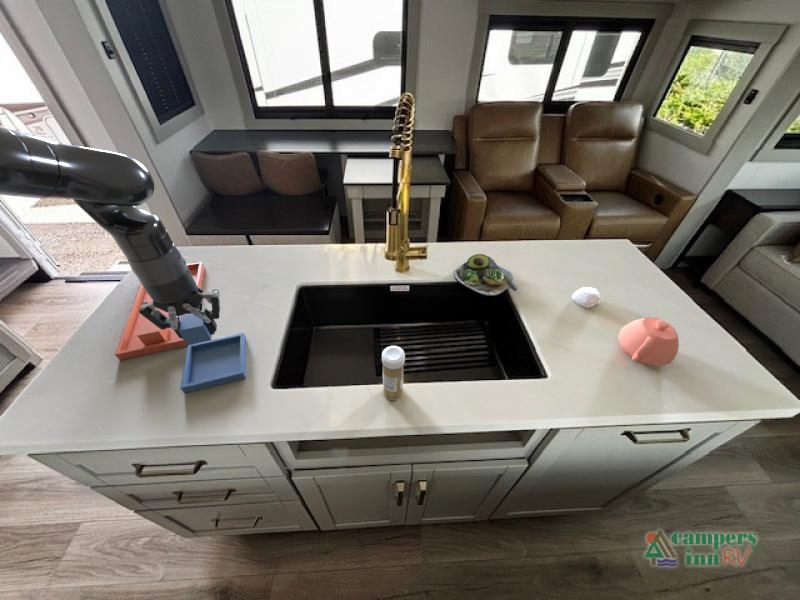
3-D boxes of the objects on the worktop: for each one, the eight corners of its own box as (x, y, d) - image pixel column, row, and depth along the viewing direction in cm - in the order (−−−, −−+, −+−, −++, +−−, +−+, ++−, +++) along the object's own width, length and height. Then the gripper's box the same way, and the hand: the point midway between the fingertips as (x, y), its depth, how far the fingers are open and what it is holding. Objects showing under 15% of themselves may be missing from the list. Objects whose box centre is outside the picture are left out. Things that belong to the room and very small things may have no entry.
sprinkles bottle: (407, 392, 72) (409, 354, 63) (392, 404, 70) (392, 367, 61) (393, 379, 74) (393, 341, 65) (378, 391, 72) (376, 353, 63)
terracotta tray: (119, 360, 76) (114, 354, 75) (149, 276, 100) (145, 270, 98) (192, 344, 80) (189, 339, 79) (204, 267, 104) (202, 261, 102)
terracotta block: (146, 347, 79) (136, 335, 76) (150, 334, 82) (141, 322, 79) (167, 343, 80) (158, 331, 77) (170, 330, 83) (162, 318, 80)
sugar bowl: (675, 353, 82) (701, 325, 75) (655, 384, 75) (682, 356, 68) (625, 326, 89) (645, 298, 82) (602, 352, 82) (622, 324, 75)
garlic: (583, 289, 100) (588, 280, 97) (603, 302, 96) (609, 293, 93) (566, 298, 97) (571, 289, 94) (586, 312, 93) (592, 302, 90)
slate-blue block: (187, 345, 67) (178, 330, 64) (190, 330, 70) (181, 315, 67) (211, 340, 68) (203, 325, 65) (212, 325, 72) (205, 310, 69)
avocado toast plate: (529, 283, 102) (534, 271, 99) (497, 309, 93) (501, 297, 89) (479, 256, 112) (482, 245, 109) (446, 277, 103) (447, 265, 100)
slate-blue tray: (184, 393, 70) (180, 388, 69) (191, 350, 79) (187, 344, 78) (246, 378, 74) (243, 373, 72) (246, 338, 82) (243, 332, 81)
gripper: (109, 292, 53) (159, 356, 65) (204, 275, 57) (235, 339, 69) (121, 266, 58) (165, 329, 70) (208, 252, 62) (236, 315, 74)
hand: (200, 334), depth 69 cm, fingers closed on slate-blue block, 4 cm apart
